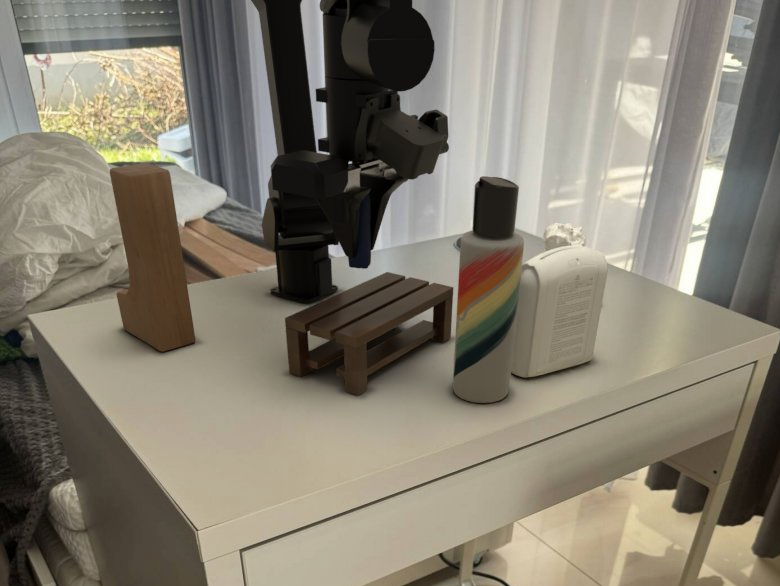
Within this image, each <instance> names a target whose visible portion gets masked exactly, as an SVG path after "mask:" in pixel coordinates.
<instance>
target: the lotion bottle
mask: <svg viewBox="0 0 780 586" xmlns="http://www.w3.org/2000/svg"><path fill="white" fill-rule="evenodd" d="M519 191H520V186H519V185H518V184H517V183H515V182H513V181H511V180H509V179H507V178H504V177H499V176H487V175H485V176H480V177H479V179H478V181H476V183H475V184H474V194H473V211H472V228H471V229H472V230H469V231H466V232H464V233H463V235H462V236H461V239H460V248H459V264H458V265H459V267H458V280H457V281H458V283H457V284H458V285H457V298H456V299H457V302H456V303H457V304H456V316H455V317H456V318H455V319H456V320H455V338H454V353H453V354H454V356H453V373H452V374H453V376H452V390H453V392H454V394H455V395H456V396H457V397H459V398H460V399H462V400H465V401H467V402H470V403H476V404H477V403H478V404H489V403H495V402H498V401H501V400H503V399H504V398H506V397H507V395H508V393H509V391H510V383H511V376H512V372H511V367H512V357H513V347H514V338H515V328H516V318H517V309H518V299H519V290H520V280H521V270H522V265H523V259H524V248H525V239H524V237H523V236H522V235H521V234H519V233H516V232H515V231H516V230H515V229H516V222H517V221H516V219H517V210H518V202H519V201H518V200H519Z"/></svg>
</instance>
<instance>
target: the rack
mask: <svg viewBox="0 0 780 586" xmlns="http://www.w3.org/2000/svg"><path fill="white" fill-rule="evenodd" d="M453 300H454V286H450V285H447V284H446V285H445V284H441V283H437V282H433V283H430V281H429V280H424V279H421V278H420V279H419V278H414V277H413V276H412V277H410V276H409V277H407V278H406V275H402V274H398V273H393V272H389V271H386V272H383V273H381V274H379V275H376V276H375V277H373V278H370V279H368V280H366V281H363V282H361V283H359V284H357V285H355V286H353V287H350V288H347V289H346V290H343V291H342V292H339V293H337V294H335V295H333V296H330V297H328V298H325V299H323V300H321V301H319V302H317V303H315V304H313V305H310V306H309V307H306V308H304V309H302V310H300V311H298V312H295V313H292V314H290V315H289V316H286V317H284V326H285V338H286V351H287V361H288V362H287V363H288V373H289V374H290V375H293V376H297V377H299V378H302V377H303V376H305V375H307V374H309V373H310V372H311V368H312V369H315V370H319V369H321V368H323V367H325V366H327V365H329V364H330V363H332V362H335V361H336V360H339V359H340V358H342V357H343V356H344V357H343V358H344V364H342V365H340V366H338V367H337V368H336V372H335V373H336V376H337V377H340V378H343V379H344V385H345V386H344V387H345V388H344V389H345V393H349V394H351V395H354V396H360V395H361V394H363V393H365V392H367V391H368V376H369V375H371V374H373V373H374V372H377V371H378V370H380V369H382V368H383V367H385V366H386V365H387V364H389V363H391V362H393V361H394V360H396V359H398V358H400V357H401V356H403V355H406V353H408V352H410V351H411V350H413V349H415V348H417V347H419V346H420V345H421V344H423V343H425V342H427V341H428V340H430V339H431V340H432V341H435V342H439V343H443V344H444V343H446V342H448V341H449V340H451V339H452V338H451V337H452V324H453V323H452V321H453V319H452V318H453V304H454V303H453V302H454V301H453ZM430 309H432V310H433V311H432V321H429V320H426V319H423V320H421V321H419V322H417V323H415V324H413V325H412V326H410V327H408V328H406V329H404V330H402V331H401V332H398V334H396V335H394V336H392V337H390V338H388V339H387V340H385V341H383V342H381V343H379V344H378V345H375V346H374V347H372V348H370V349H369V350H367V343H369V342H371V341H373V340H375V339H376V338H379V337H380V336H382V335H384V334H386V333H388V332H389V331H391V330H393V329H395V328H396V327H398V326H401V325H402V324H404V323H406V322H407V321H410V320H411V319H414V318H415V317H417V316H419V315H421V314H423V313H424V312H426V311H428V310H430ZM309 335H310V336H314V337H317V338H320V339H324V340H327V341H326V342H324V343H322V344H320V345H318V346H316V347H314V348H313V349H311V350H310V348H309Z"/></svg>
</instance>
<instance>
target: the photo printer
mask: <svg viewBox="0 0 780 586" xmlns="http://www.w3.org/2000/svg"><path fill="white" fill-rule="evenodd" d="M608 270H609V269H608V262H607V259H606V256H605V254H604V253H603V252H602V251H600V250H597V249H594V248H591V247H589V246H586V245H584V246H563V247H559V248H555V249H552V250H549V251H546V250H545V251H544V252H541V253H539V254H536V255H535V256H532V257H531V258H529V259H528V260H527V261H526V262H524V263H522V270H521V280H520V290H519V299H518V309H517V318H516V328H515V338H514V347H513V357H512V367H511V374H514V375H515V376H518V377H521V378H532V377H539V376H542V375H546V374H549V373H550V374H551V373H553V372H556V371H560V370H561V371H562V370H564V369H568V368H571V367H575V366H578V365H583V364H586V363H587V362H589V361H591V360H592V359H593V356H594V351H595V347H596V346H595V345H596V340H597V334H598V329H599V323H600V318H601V317H600V316H601V312H602V306H603V301H604V300H603V299H604V295H605V288H606V284H607V278H608Z"/></svg>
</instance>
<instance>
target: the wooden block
mask: <svg viewBox="0 0 780 586" xmlns="http://www.w3.org/2000/svg"><path fill="white" fill-rule="evenodd" d="M109 177H110V180H111V186H112V192H113V196H114V201H115V207H116V212H117V217H118V218H117V219H118V222H119V223H118V224H119V228H120V231H121V237H122V241H123V247H124V253H125V258H126V263H127V267H128V268H127V269H128V277H129V278H128V280H129V286H128V288H126V289H122V290H121V289H120V290H119V291H117V292H116V299H117V303H118V309H119V313H120V318H121V323H122V327H123V329H124V330H125V331H126V332H128V333H129V334H131V335H133V336H134V337H136V338H138V339H140V340H141V341H143V342H144V343H146V344H148V345H149V346H151V347H153V348H154V349H156V350H157V351H159V352H163V353H164V352H167V351H170V350H174V349H177V348H180V347H185V346H188V345H190V344H195V343H196V340H197V339H196V334H195V325H194V322H193V321H194V320H193V316H192V307H191V301H190V295H189V289H188V288H189V287H188V282H187V275H186V269H185V263H184V262H185V261H184V258H183V257H184V254H183V250H182V249H183V248H182V242H181V236H180V228H179V224H178V216H177V209H176V204H175V197H174V190H173V184H172V178H171V177H172V176H171V173H170V170H169V169H166V168H163V167H161V166H159V165H155V164H152V163H149V162H143V163H135V164H130V165H122V166H116V167H115V166H114V167H112V168H110V169H109Z"/></svg>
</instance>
